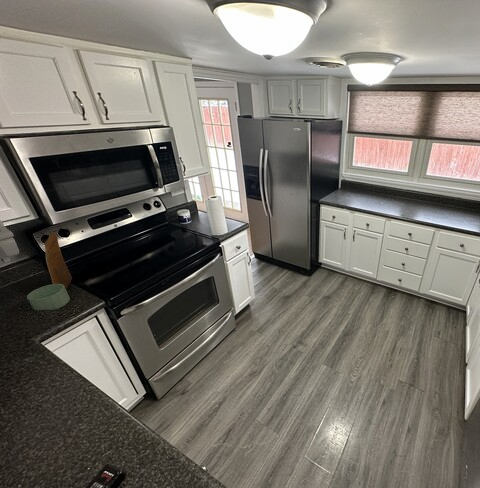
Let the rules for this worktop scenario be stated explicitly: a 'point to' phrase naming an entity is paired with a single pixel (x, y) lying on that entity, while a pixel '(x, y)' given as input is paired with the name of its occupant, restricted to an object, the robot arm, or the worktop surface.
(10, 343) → the worktop surface
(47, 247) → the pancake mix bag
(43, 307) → the bowl
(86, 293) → the worktop surface
